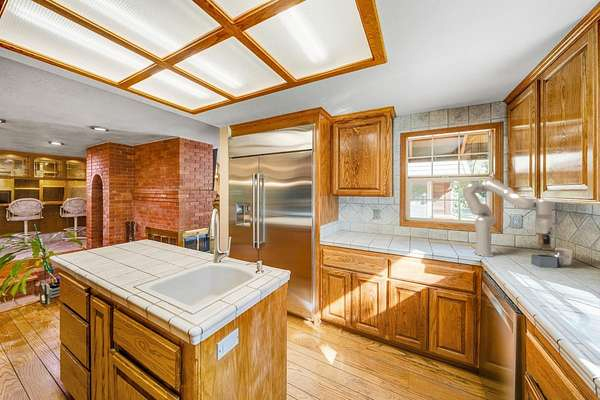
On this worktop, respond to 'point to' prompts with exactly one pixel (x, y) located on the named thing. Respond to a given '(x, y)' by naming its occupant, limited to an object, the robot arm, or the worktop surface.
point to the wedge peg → (540, 241)
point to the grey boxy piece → (549, 259)
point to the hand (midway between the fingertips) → (544, 243)
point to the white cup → (568, 252)
